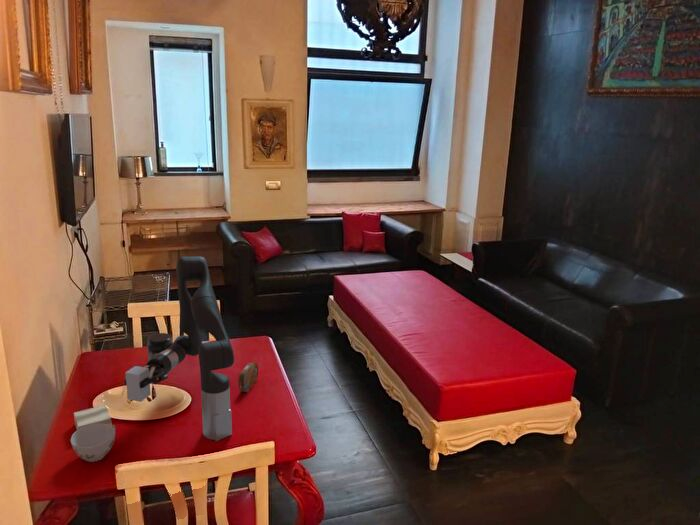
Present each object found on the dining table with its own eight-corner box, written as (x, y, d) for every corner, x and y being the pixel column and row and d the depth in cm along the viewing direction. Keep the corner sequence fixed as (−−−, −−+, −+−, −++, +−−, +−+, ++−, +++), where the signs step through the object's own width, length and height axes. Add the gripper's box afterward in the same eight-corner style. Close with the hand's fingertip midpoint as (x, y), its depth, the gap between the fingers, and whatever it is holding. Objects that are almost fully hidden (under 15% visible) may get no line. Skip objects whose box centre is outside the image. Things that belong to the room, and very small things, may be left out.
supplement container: (165, 355, 238) (164, 330, 235) (178, 363, 232) (177, 337, 228) (143, 363, 230) (141, 337, 227) (156, 371, 224) (154, 344, 221)
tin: (244, 396, 207) (244, 376, 205) (237, 394, 208) (236, 375, 205) (258, 378, 221) (258, 359, 219) (251, 377, 222) (251, 358, 220)
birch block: (112, 431, 182) (111, 418, 181) (79, 440, 177) (78, 426, 175) (106, 417, 190) (105, 404, 189) (75, 425, 185) (73, 412, 183)
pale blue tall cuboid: (150, 394, 185) (148, 368, 182) (140, 401, 180) (138, 374, 178) (137, 392, 186) (135, 365, 184) (127, 399, 182) (125, 372, 179)
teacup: (93, 473, 161) (91, 450, 158) (63, 462, 165) (60, 439, 163) (131, 446, 174) (129, 424, 172) (102, 436, 179) (100, 415, 176)
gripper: (145, 350, 196) (113, 371, 180) (179, 356, 192) (150, 377, 176) (146, 369, 198) (115, 391, 182) (181, 375, 194) (152, 398, 178)
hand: (133, 384), depth 179 cm, fingers closed on pale blue tall cuboid, 5 cm apart
